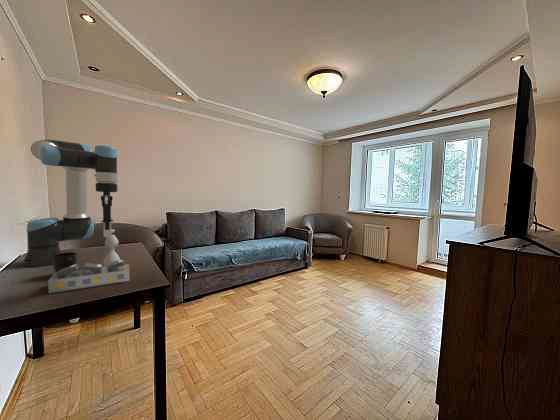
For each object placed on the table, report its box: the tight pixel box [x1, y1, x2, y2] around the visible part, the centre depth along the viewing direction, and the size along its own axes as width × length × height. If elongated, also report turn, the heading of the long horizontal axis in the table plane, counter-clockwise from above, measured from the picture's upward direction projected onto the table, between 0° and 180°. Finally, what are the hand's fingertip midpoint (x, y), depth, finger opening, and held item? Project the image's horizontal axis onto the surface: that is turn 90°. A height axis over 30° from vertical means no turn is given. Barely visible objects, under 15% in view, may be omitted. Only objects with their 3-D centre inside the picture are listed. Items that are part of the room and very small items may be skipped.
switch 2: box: [82, 262, 103, 272], centre depth 100 cm, size 5×6×2 cm
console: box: [47, 263, 131, 294], centre depth 100 cm, size 10×26×6 cm, turn 124°
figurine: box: [102, 228, 121, 267], centre depth 119 cm, size 8×8×20 cm
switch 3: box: [107, 258, 125, 270], centre depth 105 cm, size 5×6×2 cm
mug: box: [52, 251, 78, 273], centre depth 107 cm, size 8×12×10 cm
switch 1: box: [57, 263, 80, 277], centre depth 96 cm, size 5×6×2 cm
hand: (107, 236), depth 103 cm, fingers closed
